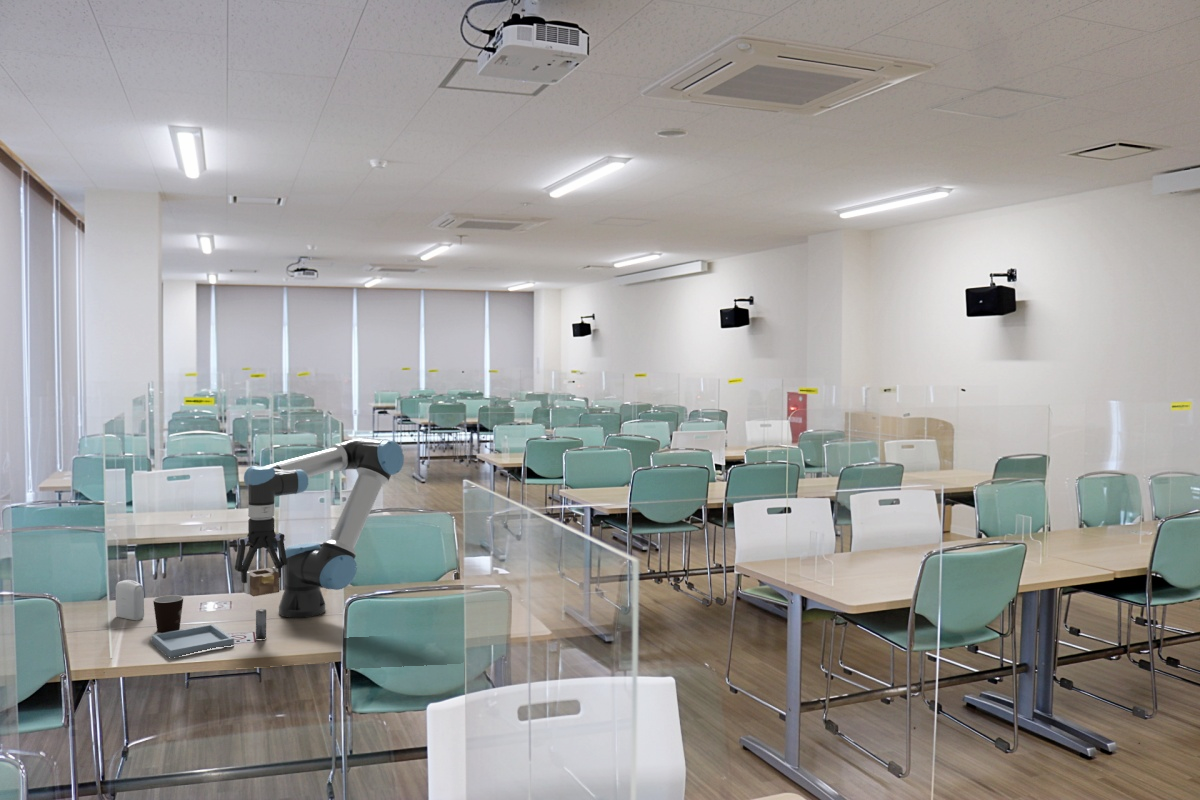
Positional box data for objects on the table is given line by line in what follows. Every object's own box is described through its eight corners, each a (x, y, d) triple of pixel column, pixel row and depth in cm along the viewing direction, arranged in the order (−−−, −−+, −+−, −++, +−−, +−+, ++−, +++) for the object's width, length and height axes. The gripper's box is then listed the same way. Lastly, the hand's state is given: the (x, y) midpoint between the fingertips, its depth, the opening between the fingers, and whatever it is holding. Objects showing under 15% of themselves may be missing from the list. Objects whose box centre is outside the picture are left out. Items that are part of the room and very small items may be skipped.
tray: (212, 631, 289) (212, 623, 289) (233, 646, 276) (233, 638, 276) (151, 643, 277) (151, 634, 277) (170, 659, 264) (170, 650, 264)
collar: (268, 586, 288) (269, 567, 288) (282, 593, 281) (282, 574, 280) (243, 590, 283) (243, 571, 283) (255, 597, 275) (255, 578, 275)
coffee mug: (171, 635, 285) (171, 603, 284) (147, 632, 287) (147, 601, 286) (195, 624, 296) (195, 593, 296) (171, 622, 298) (171, 591, 298)
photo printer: (113, 616, 302) (113, 579, 301) (125, 613, 306) (125, 577, 305) (134, 621, 298) (134, 584, 297) (146, 618, 301) (146, 581, 301)
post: (263, 637, 286) (264, 608, 285) (267, 639, 283) (267, 610, 283) (254, 638, 284) (254, 610, 283) (258, 641, 281) (258, 612, 281)
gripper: (231, 523, 272) (231, 599, 273) (299, 515, 285) (299, 588, 287) (222, 519, 277) (222, 593, 278) (289, 512, 291) (289, 583, 292)
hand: (261, 590), depth 283 cm, fingers closed on collar, 8 cm apart
